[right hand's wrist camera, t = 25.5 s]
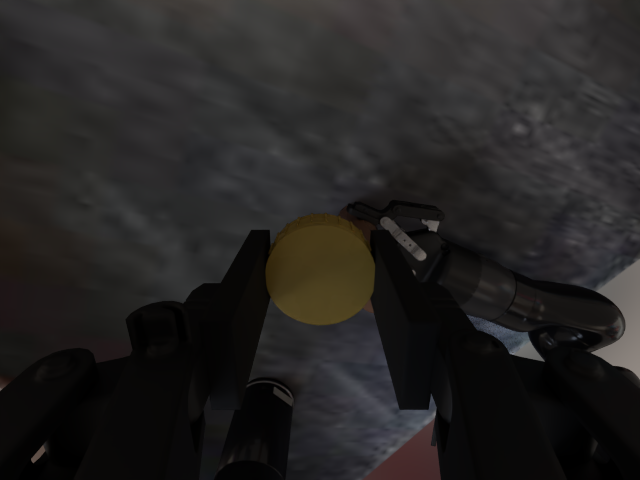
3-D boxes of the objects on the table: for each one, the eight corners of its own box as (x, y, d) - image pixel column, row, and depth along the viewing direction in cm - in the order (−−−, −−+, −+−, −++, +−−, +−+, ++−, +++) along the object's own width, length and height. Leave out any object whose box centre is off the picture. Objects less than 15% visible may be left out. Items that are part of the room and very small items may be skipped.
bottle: (364, 240, 48) (394, 328, 28) (333, 231, 47) (340, 314, 27) (375, 209, 46) (416, 278, 26) (343, 199, 46) (359, 263, 26)
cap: (393, 244, 14) (401, 259, 13) (337, 322, 15) (339, 343, 14) (301, 192, 13) (298, 201, 12) (251, 278, 15) (243, 296, 13)
